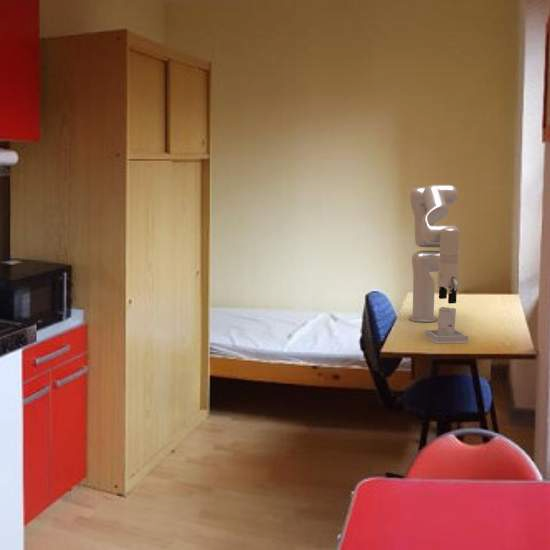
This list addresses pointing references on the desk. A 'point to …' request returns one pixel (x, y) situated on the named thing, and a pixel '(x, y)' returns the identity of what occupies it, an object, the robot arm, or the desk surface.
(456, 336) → the holder
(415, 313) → the robot arm
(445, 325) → the skincare box
